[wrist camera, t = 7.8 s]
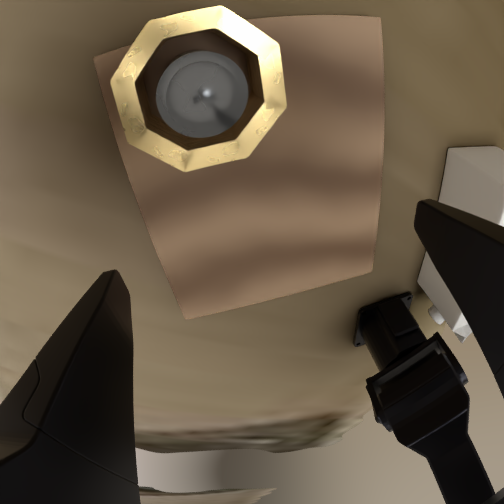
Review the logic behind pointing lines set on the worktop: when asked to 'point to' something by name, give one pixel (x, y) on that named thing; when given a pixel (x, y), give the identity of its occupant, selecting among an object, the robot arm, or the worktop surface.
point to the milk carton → (472, 201)
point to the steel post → (201, 94)
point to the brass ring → (209, 148)
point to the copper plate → (271, 171)
